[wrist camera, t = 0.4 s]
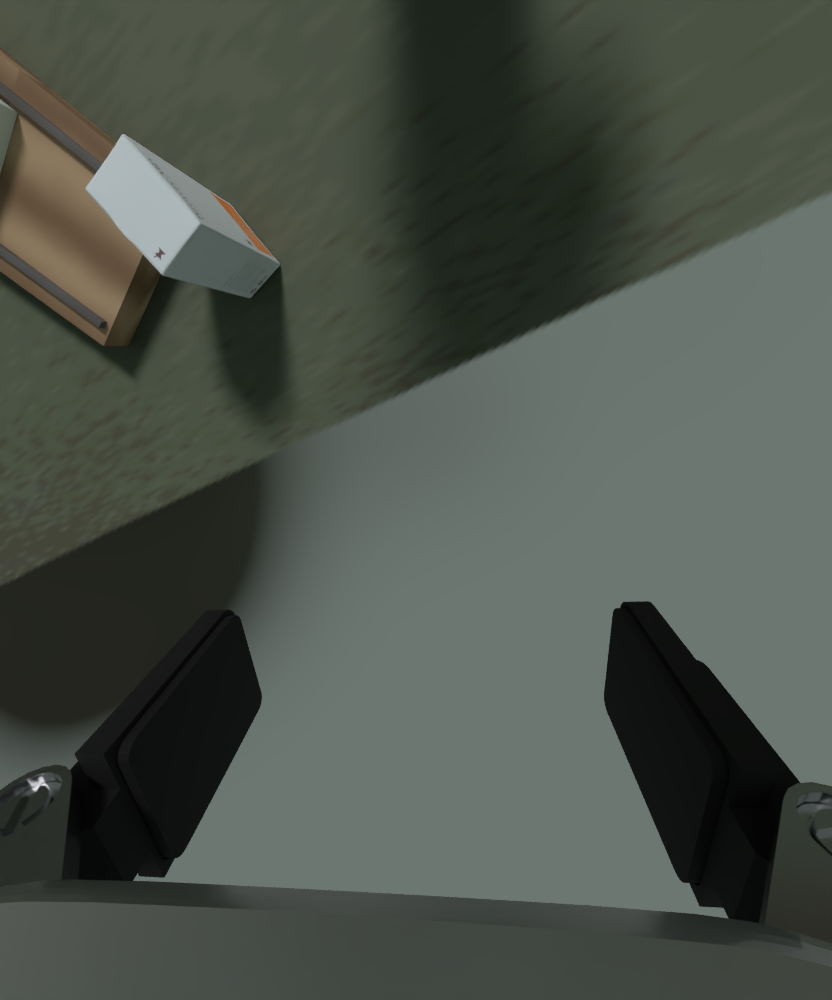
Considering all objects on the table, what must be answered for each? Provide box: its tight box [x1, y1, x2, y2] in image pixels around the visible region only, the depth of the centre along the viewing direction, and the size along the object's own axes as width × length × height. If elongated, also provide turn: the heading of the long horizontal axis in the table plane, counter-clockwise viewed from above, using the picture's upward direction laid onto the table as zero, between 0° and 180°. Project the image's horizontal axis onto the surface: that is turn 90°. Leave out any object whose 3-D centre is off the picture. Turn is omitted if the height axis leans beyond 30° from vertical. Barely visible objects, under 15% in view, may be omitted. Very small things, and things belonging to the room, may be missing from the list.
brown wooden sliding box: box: [0, 48, 161, 346], centre depth 32 cm, size 14×24×4 cm, turn 52°
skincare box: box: [85, 134, 280, 298], centre depth 29 cm, size 6×4×12 cm
